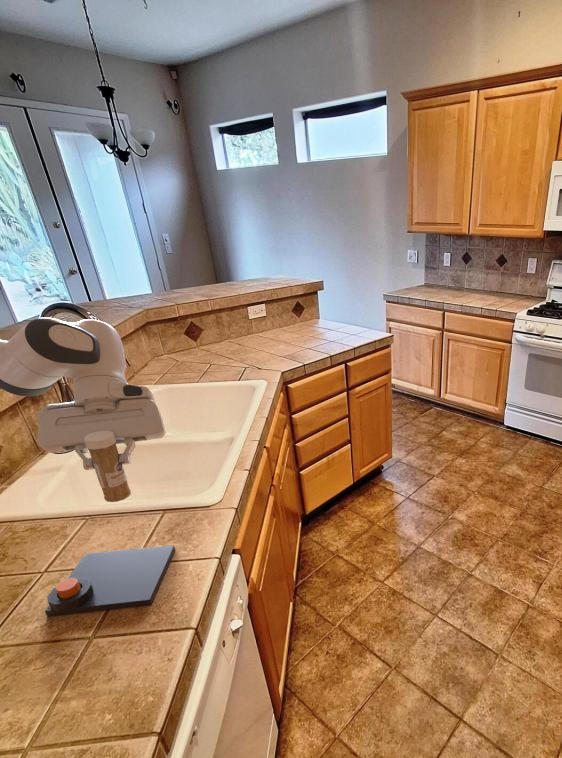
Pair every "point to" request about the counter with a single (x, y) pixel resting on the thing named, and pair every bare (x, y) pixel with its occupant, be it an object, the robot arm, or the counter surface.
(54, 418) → the robot arm
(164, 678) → the counter surface
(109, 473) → the sprinkles bottle
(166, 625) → the counter surface
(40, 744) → the counter surface
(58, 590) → the button
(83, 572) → the scale
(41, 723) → the counter surface
